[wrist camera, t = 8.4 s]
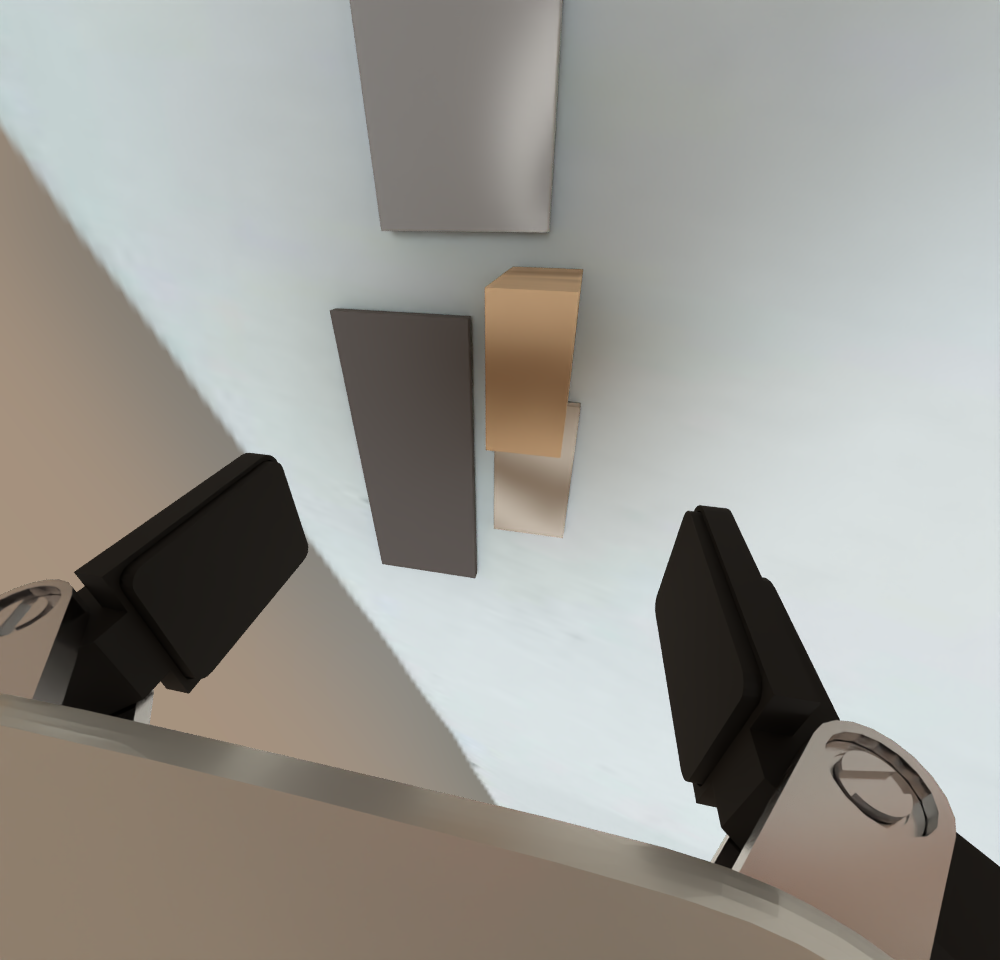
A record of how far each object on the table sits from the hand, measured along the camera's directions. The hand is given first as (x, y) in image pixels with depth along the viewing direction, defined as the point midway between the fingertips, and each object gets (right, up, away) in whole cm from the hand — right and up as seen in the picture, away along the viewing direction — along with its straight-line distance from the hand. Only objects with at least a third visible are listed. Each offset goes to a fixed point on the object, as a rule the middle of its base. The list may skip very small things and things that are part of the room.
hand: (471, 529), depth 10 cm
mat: (-5, +2, +19) cm, 20 cm away
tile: (+3, +16, +7) cm, 18 cm away
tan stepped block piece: (+3, +5, +16) cm, 16 cm away
